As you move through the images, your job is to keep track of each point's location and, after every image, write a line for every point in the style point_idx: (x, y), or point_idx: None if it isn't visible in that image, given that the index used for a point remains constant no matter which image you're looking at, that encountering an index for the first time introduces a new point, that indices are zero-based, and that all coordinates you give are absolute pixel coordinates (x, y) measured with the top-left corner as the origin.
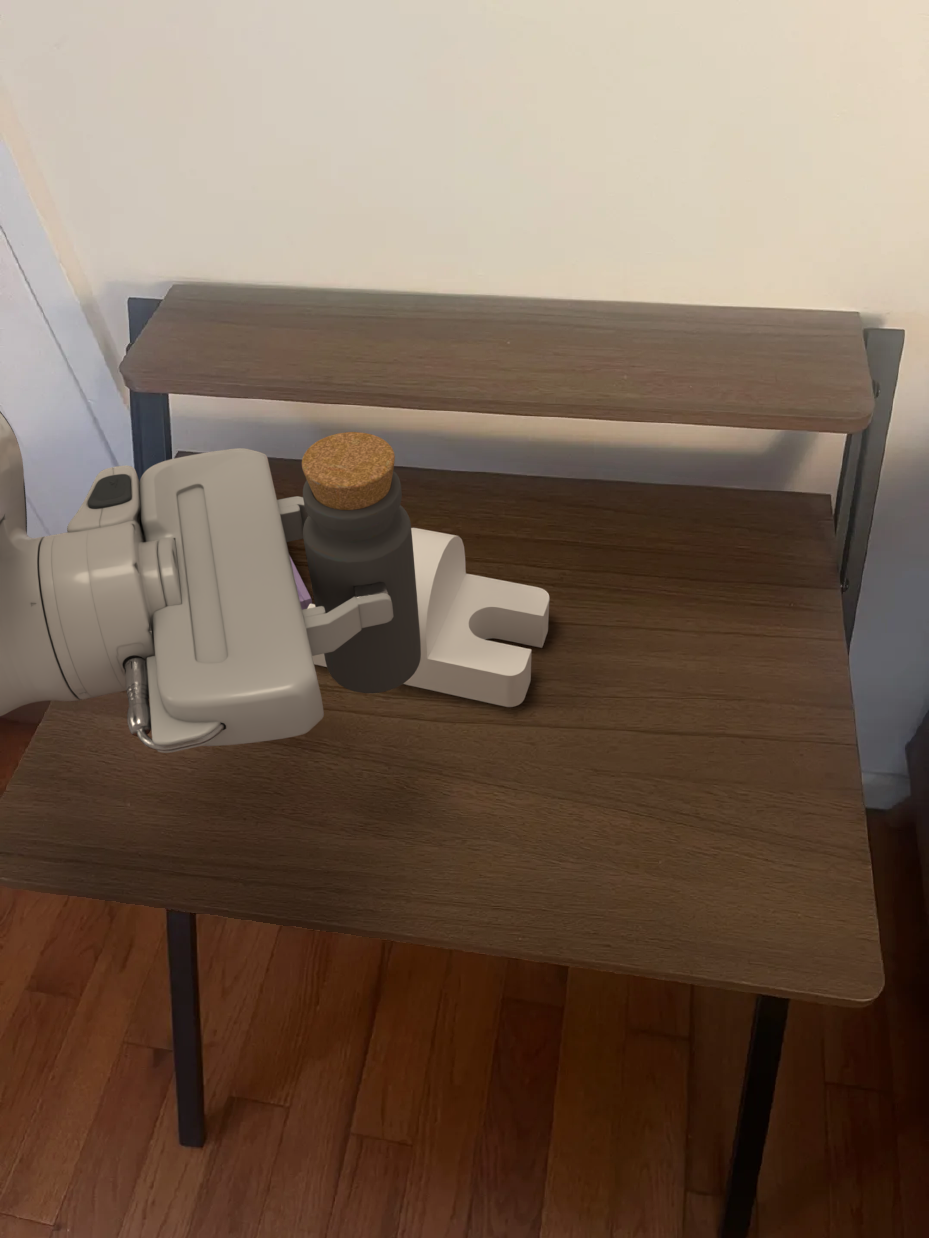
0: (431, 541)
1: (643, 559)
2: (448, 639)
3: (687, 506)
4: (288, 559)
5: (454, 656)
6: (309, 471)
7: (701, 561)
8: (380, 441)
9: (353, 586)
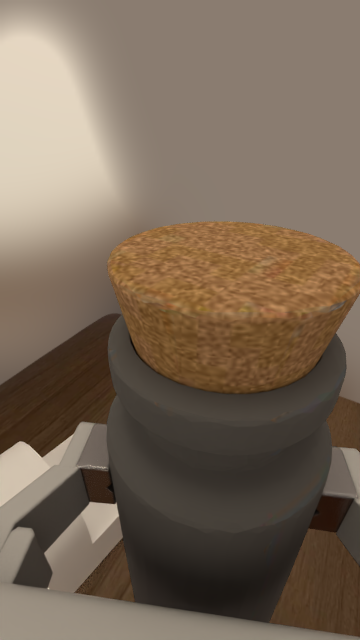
0: (16, 460)
1: (86, 378)
2: (83, 514)
3: (67, 347)
4: (243, 622)
5: (105, 517)
6: (276, 303)
7: (107, 358)
8: (191, 224)
9: (322, 493)
